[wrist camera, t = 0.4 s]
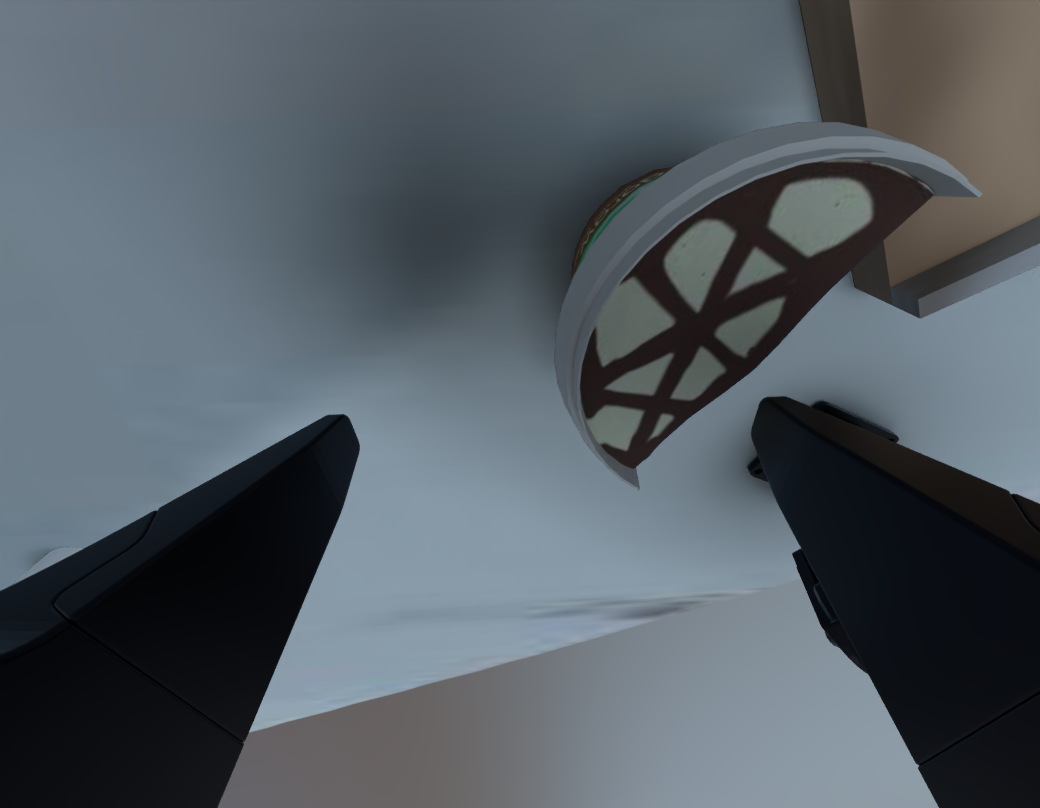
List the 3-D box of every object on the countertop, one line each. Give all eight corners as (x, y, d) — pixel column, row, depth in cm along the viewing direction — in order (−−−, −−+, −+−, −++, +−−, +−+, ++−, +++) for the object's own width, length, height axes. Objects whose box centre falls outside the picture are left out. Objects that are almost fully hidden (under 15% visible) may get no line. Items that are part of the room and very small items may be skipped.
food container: (663, 51, 15) (831, -54, 6) (771, 151, 16) (1011, 169, 8) (502, 313, 21) (483, 429, 13) (593, 366, 23) (628, 498, 14)
